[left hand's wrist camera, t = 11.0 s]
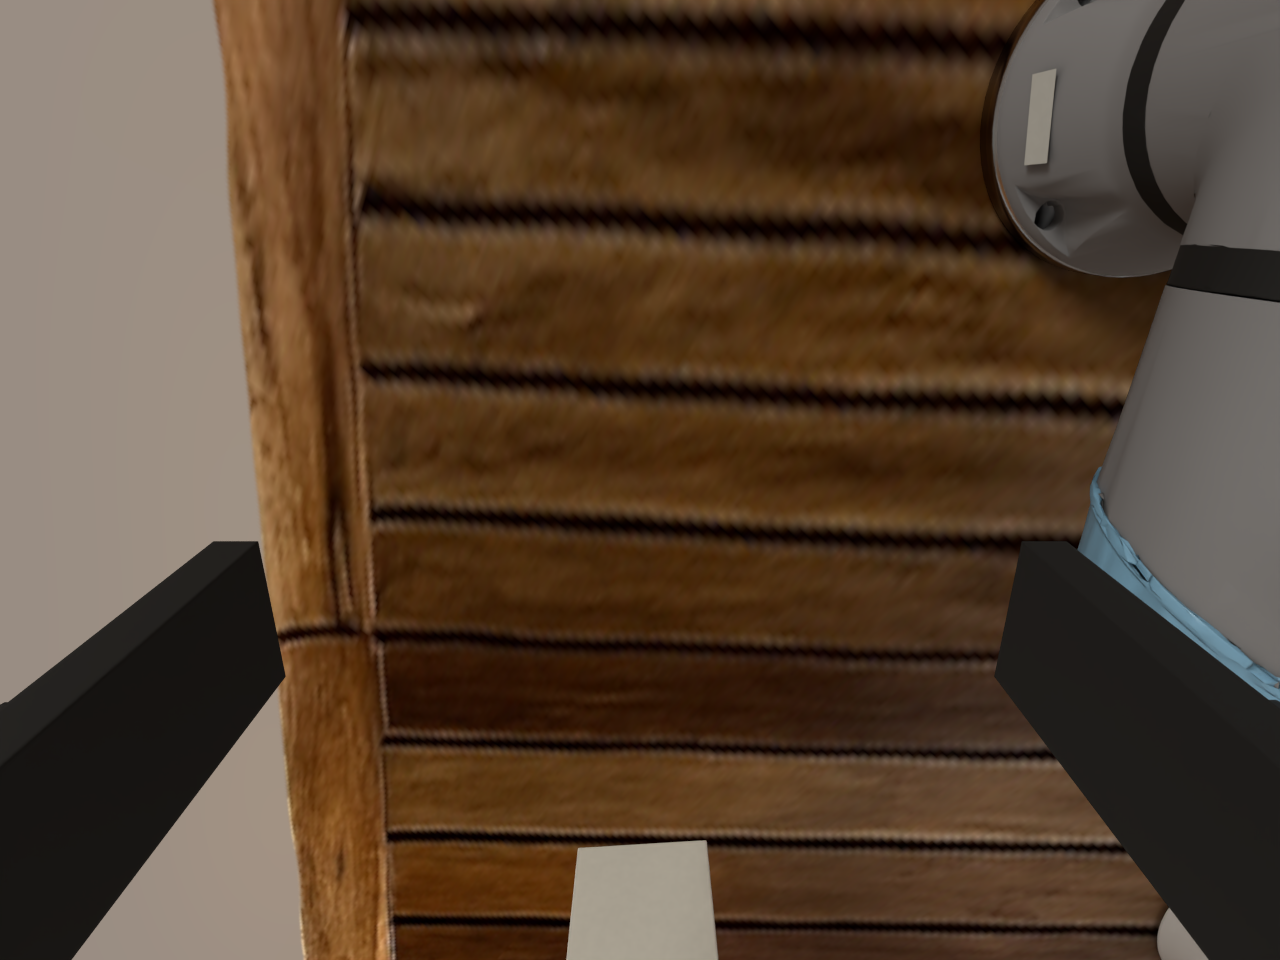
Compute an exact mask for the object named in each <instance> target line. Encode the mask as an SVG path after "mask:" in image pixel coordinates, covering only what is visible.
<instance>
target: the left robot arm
mask: <svg viewBox="0 0 1280 960" xmlns="http://www.w3.org/2000/svg"><path fill="white" fill-rule="evenodd" d="M980 154H981V165H982V170H983V176H984V181H985V184H986V188H987V191H988V194H989V197H990V199H991V202H992V204H993V207H994V209H995V210H996V212H997V214H998V216H999V218H1000V220H1001V221H1002V222H1003V224H1004V225H1005V227H1006V228H1007V230H1008V231H1009V232H1010V233H1011V234H1012V236H1013V237H1014V238H1015V239H1016V240H1017V241H1018V242H1019V243H1020V244H1021V245H1022V246H1024V247H1025V248H1026V249H1027V250H1028V251H1030V252H1031V253H1033V254H1034V255H1035V256H1037V257H1038V258H1040V259H1042V260H1044V261H1046V262H1048V263H1050V264H1052V265H1055V266H1057V267H1060V268H1062V269H1066V270H1070V271H1073V272H1079V273H1085V274H1092V275H1098V276H1105V277H1121V278H1122V277H1138V276H1145V275H1152V274H1156V273H1160V272H1164V271H1168V270H1171V269H1172V271H1171V274H1170V277H1169V280H1168V282H1167V284H1168V285H1165V288H1164V291H1163V294H1162V296H1161V299H1160V302H1159V305H1158V308H1157V311H1156V314H1155V317H1154V320H1153V323H1152V326H1151V328H1150V331H1149V334H1148V337H1147V340H1146V343H1145V346H1144V349H1143V352H1142V355H1141V358H1140V361H1139V363H1138V366H1137V369H1136V372H1135V375H1134V378H1133V381H1132V384H1131V387H1130V390H1129V393H1128V395H1127V398H1126V401H1125V404H1124V407H1123V410H1122V413H1121V416H1120V419H1119V422H1118V425H1117V427H1116V430H1115V433H1114V436H1113V438H1112V441H1111V444H1110V446H1109V449H1108V452H1107V455H1106V457H1105V460H1104V463H1103V465H1102V467H1099V468H1098V469H1097V471H1096V473H1095V475H1094V477H1093V480H1092V483H1091V485H1090V501H1091V503H1090V507H1089V511H1088V515H1087V519H1086V523H1085V526H1084V530H1083V534H1082V537H1081V540H1080V544H1079V547H1078V550H1077V549H1075V548H1074V547H1073V546H1072V545H1070V544H1069V543H1068V542H1067V541H1022V543H1021V548H1020V553H1019V558H1018V563H1017V568H1016V573H1015V578H1014V583H1013V588H1012V593H1011V597H1010V602H1009V607H1008V612H1007V617H1006V622H1005V627H1004V632H1003V637H1002V642H1001V647H1000V651H999V656H998V661H997V666H996V671H995V676H994V677H995V678H996V679H997V681H998V682H999V683H1000V685H1001V686H1002V687H1003V688H1004V690H1005V691H1006V692H1007V694H1008V695H1009V696H1010V698H1011V699H1012V700H1013V702H1014V703H1015V704H1016V706H1017V707H1018V708H1019V710H1020V711H1021V712H1022V714H1023V715H1024V716H1025V718H1026V719H1027V720H1028V722H1029V723H1030V724H1031V726H1032V727H1033V728H1034V729H1035V731H1036V732H1037V733H1038V735H1039V736H1040V737H1041V739H1042V740H1043V741H1044V743H1045V744H1046V745H1047V747H1048V748H1049V749H1050V751H1051V752H1052V753H1053V755H1054V756H1055V757H1056V759H1057V760H1058V761H1059V763H1060V764H1061V765H1062V767H1063V768H1064V769H1065V771H1066V772H1067V773H1068V774H1069V776H1070V777H1071V778H1072V780H1073V781H1074V782H1075V784H1076V785H1077V786H1078V788H1079V789H1080V790H1081V792H1082V793H1083V794H1084V796H1085V797H1086V798H1087V800H1088V801H1089V802H1090V804H1091V805H1092V806H1093V808H1094V809H1095V810H1096V812H1097V813H1098V814H1099V815H1100V817H1101V818H1102V819H1103V821H1104V822H1105V823H1106V825H1107V826H1108V827H1109V829H1110V830H1111V831H1112V833H1113V834H1114V835H1115V837H1116V838H1117V839H1118V841H1119V842H1120V843H1121V845H1122V846H1123V847H1124V849H1125V850H1126V851H1127V853H1128V854H1129V855H1130V856H1131V858H1132V859H1133V860H1134V862H1135V863H1136V864H1137V866H1138V867H1139V868H1140V870H1141V871H1142V872H1143V874H1144V875H1145V876H1146V878H1147V879H1148V880H1149V882H1150V883H1151V884H1152V886H1153V887H1154V888H1155V890H1156V891H1157V892H1158V894H1159V895H1160V896H1161V897H1162V899H1163V900H1164V901H1165V903H1166V904H1167V905H1168V907H1169V908H1170V909H1171V911H1172V912H1173V913H1174V915H1175V916H1176V917H1177V919H1178V920H1179V921H1180V923H1181V924H1182V925H1183V927H1184V928H1185V929H1186V931H1187V932H1188V933H1189V935H1190V936H1191V937H1192V939H1193V940H1194V941H1195V942H1196V944H1197V945H1198V946H1199V948H1200V949H1201V950H1202V952H1203V953H1204V954H1205V956H1206V957H1207V958H1208V960H1280V0H1036V1H1035V2H1034V3H1033V4H1032V6H1031V7H1030V8H1029V9H1028V11H1027V12H1026V13H1025V14H1024V16H1023V17H1022V19H1021V20H1020V22H1019V23H1018V25H1017V26H1016V28H1015V29H1014V31H1013V32H1012V34H1011V36H1010V38H1009V39H1008V41H1007V43H1006V45H1005V47H1004V49H1003V51H1002V53H1001V55H1000V57H999V59H998V61H997V64H996V66H995V69H994V72H993V74H992V77H991V80H990V83H989V86H988V90H987V94H986V97H985V102H984V107H983V112H982V120H981V129H980ZM285 677H286V676H285V671H284V666H283V661H282V656H281V651H280V647H279V642H278V637H277V632H276V627H275V622H274V617H273V612H272V607H271V602H270V597H269V593H268V588H267V583H266V578H265V573H264V568H263V563H262V558H261V553H260V548H259V543H258V541H241V542H240V541H232V542H231V541H220V542H219V541H214V542H212V543H211V544H210V545H208V546H207V547H206V548H205V549H203V550H202V551H201V552H199V553H198V554H197V555H196V556H194V557H193V558H192V559H190V560H189V561H188V562H187V563H185V564H184V565H183V566H182V567H180V568H179V569H178V570H176V571H175V572H174V573H173V574H171V575H170V576H169V577H167V578H166V579H165V580H164V581H162V582H161V583H160V584H159V585H157V586H156V587H155V588H153V589H152V590H151V591H150V592H148V593H147V594H146V595H144V596H143V597H142V598H141V599H139V600H138V601H137V602H136V603H134V604H133V605H132V606H131V607H129V608H128V609H127V610H125V611H124V612H123V613H122V614H120V615H119V616H118V617H116V618H115V619H114V620H113V621H111V622H110V623H109V624H107V625H106V626H105V627H104V628H102V629H101V630H100V631H99V632H97V633H96V634H95V635H93V636H92V637H91V638H90V639H88V640H87V641H86V642H84V643H83V644H82V645H81V646H79V647H78V648H77V649H76V650H74V651H73V652H72V653H70V654H69V655H68V656H67V657H65V658H64V659H63V660H62V661H60V662H59V663H58V664H56V665H55V666H54V667H53V668H51V669H50V670H49V671H47V672H46V673H45V674H44V675H42V676H41V677H40V678H38V679H37V680H36V681H35V682H33V683H32V684H31V685H30V686H28V687H27V688H26V689H24V690H23V691H22V692H21V693H19V694H18V695H17V696H16V697H14V698H13V699H12V700H10V701H9V702H5V703H2V704H1V705H0V960H72V958H73V957H74V956H75V954H76V953H77V952H78V950H79V949H80V948H81V946H82V945H83V944H84V942H85V941H86V940H87V938H88V937H89V936H90V935H91V933H92V932H93V931H94V929H95V928H96V927H97V925H98V924H99V923H100V921H101V920H102V919H103V917H104V916H105V915H106V913H107V912H108V911H109V909H110V908H111V907H112V905H113V904H114V903H115V901H116V900H117V899H118V897H119V896H120V895H121V894H122V892H123V891H124V890H125V888H126V887H127V886H128V884H129V883H130V882H131V880H132V879H133V878H134V876H135V875H136V874H137V872H138V871H139V870H140V868H141V867H142V866H143V864H144V863H145V862H146V860H147V859H148V858H149V856H150V855H151V854H152V852H153V851H154V850H155V849H156V847H157V846H158V845H159V843H160V842H161V841H162V839H163V838H164V837H165V835H166V834H167V833H168V831H169V830H170V829H171V827H172V826H173V825H174V823H175V822H176V821H177V819H178V818H179V817H180V815H181V814H182V813H183V812H184V810H185V809H186V808H187V806H188V805H189V803H190V802H191V801H192V800H193V798H194V797H195V796H196V794H197V793H198V792H199V790H200V789H201V788H202V786H203V785H204V784H205V782H206V781H207V780H208V778H209V777H210V776H211V774H212V773H213V772H214V771H215V769H216V768H217V767H218V765H219V764H220V762H221V761H222V760H223V759H224V757H225V756H226V755H227V753H228V752H229V751H230V749H231V748H232V747H233V745H234V744H235V743H236V741H237V740H238V739H239V737H240V736H241V735H242V733H243V732H244V731H245V729H246V728H247V727H248V726H249V724H250V723H251V722H252V720H253V719H254V718H255V716H256V715H257V714H258V712H259V711H260V710H261V708H262V707H263V706H264V704H265V703H266V702H267V700H268V699H269V698H270V696H271V695H272V694H273V692H274V691H275V690H276V688H277V687H278V686H279V685H280V683H281V682H282V681H283V679H284V678H285Z"/></svg>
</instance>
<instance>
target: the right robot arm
mask: <svg viewBox="0 0 1280 960" xmlns="http://www.w3.org/2000/svg"><path fill="white" fill-rule="evenodd" d="M1157 947H1158V952H1159V955H1160V957H1161V960H1208V958H1207V957H1206V956H1205V954H1204V953H1203V952H1202V950H1201V949H1200V948H1199V946H1198V945H1197V944H1196V942H1195V941H1194V940H1193V939H1192V937H1191V936H1190V935H1189V933H1188V932H1187V931H1186V929H1185V928H1184V927H1183V925H1182V924H1181V923H1180V921H1179V920H1178V919H1177V917H1176V916H1175V915H1174V913H1173V912H1172V911H1171V909H1170V908H1168V910H1167V911H1166V913H1165V915H1164V917H1163V919H1162V921H1161V924H1160V926H1159V930H1158V935H1157Z"/></svg>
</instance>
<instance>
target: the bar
mask: <svg viewBox="0 0 1280 960" xmlns="http://www.w3.org/2000/svg"><path fill="white" fill-rule="evenodd" d="M566 960H718V952H717V941H716V931H715V921H714V911H713V901H712V891H711V880H710V870H709V860H708V850H707V841H706V840H703V841H686V842H670V843H653V844H637V845H620V846H604V847H587V848H578V853H577V863H576V873H575V882H574V892H573V901H572V911H571V921H570V930H569V940H568V949H567V959H566Z"/></svg>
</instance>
